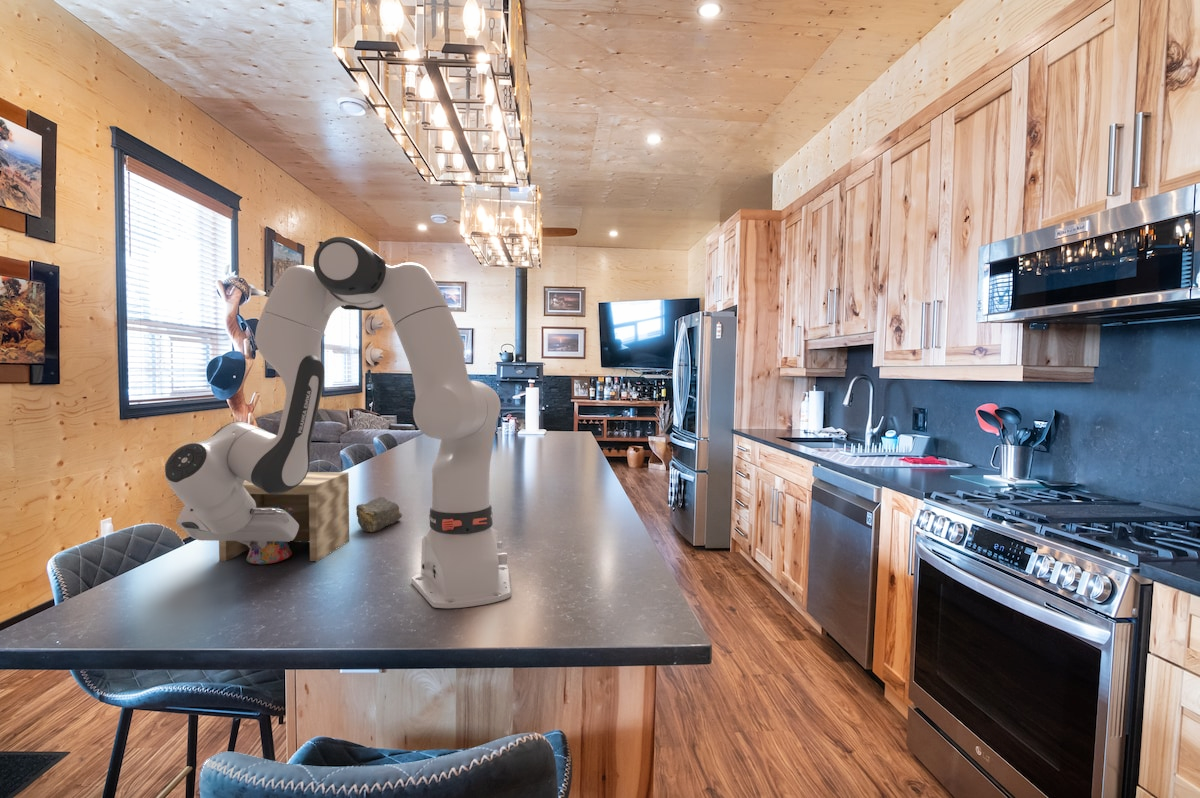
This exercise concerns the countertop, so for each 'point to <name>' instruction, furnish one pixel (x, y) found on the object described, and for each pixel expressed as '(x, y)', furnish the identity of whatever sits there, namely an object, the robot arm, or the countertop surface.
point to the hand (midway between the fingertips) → (259, 545)
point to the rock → (377, 514)
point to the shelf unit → (307, 512)
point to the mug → (271, 548)
